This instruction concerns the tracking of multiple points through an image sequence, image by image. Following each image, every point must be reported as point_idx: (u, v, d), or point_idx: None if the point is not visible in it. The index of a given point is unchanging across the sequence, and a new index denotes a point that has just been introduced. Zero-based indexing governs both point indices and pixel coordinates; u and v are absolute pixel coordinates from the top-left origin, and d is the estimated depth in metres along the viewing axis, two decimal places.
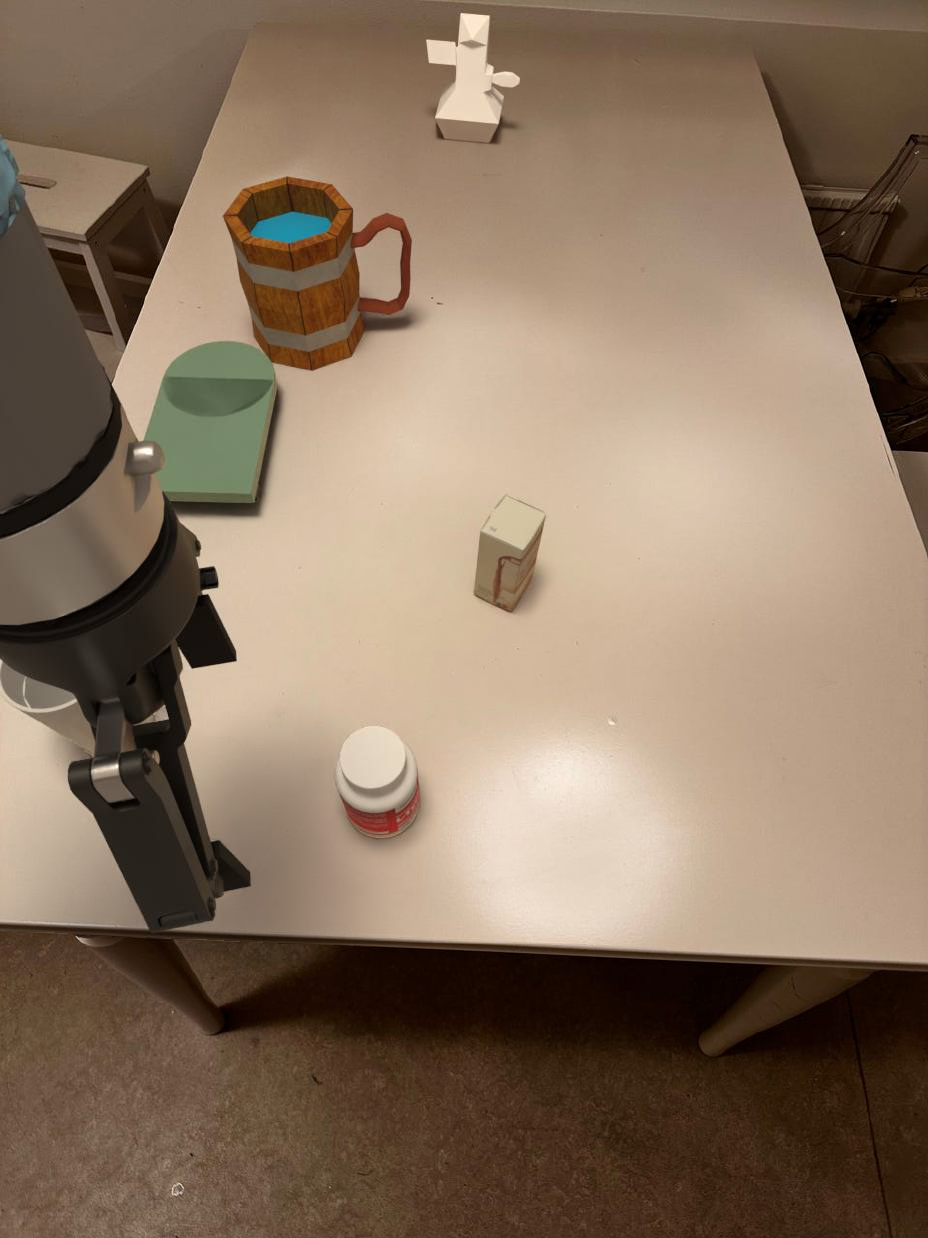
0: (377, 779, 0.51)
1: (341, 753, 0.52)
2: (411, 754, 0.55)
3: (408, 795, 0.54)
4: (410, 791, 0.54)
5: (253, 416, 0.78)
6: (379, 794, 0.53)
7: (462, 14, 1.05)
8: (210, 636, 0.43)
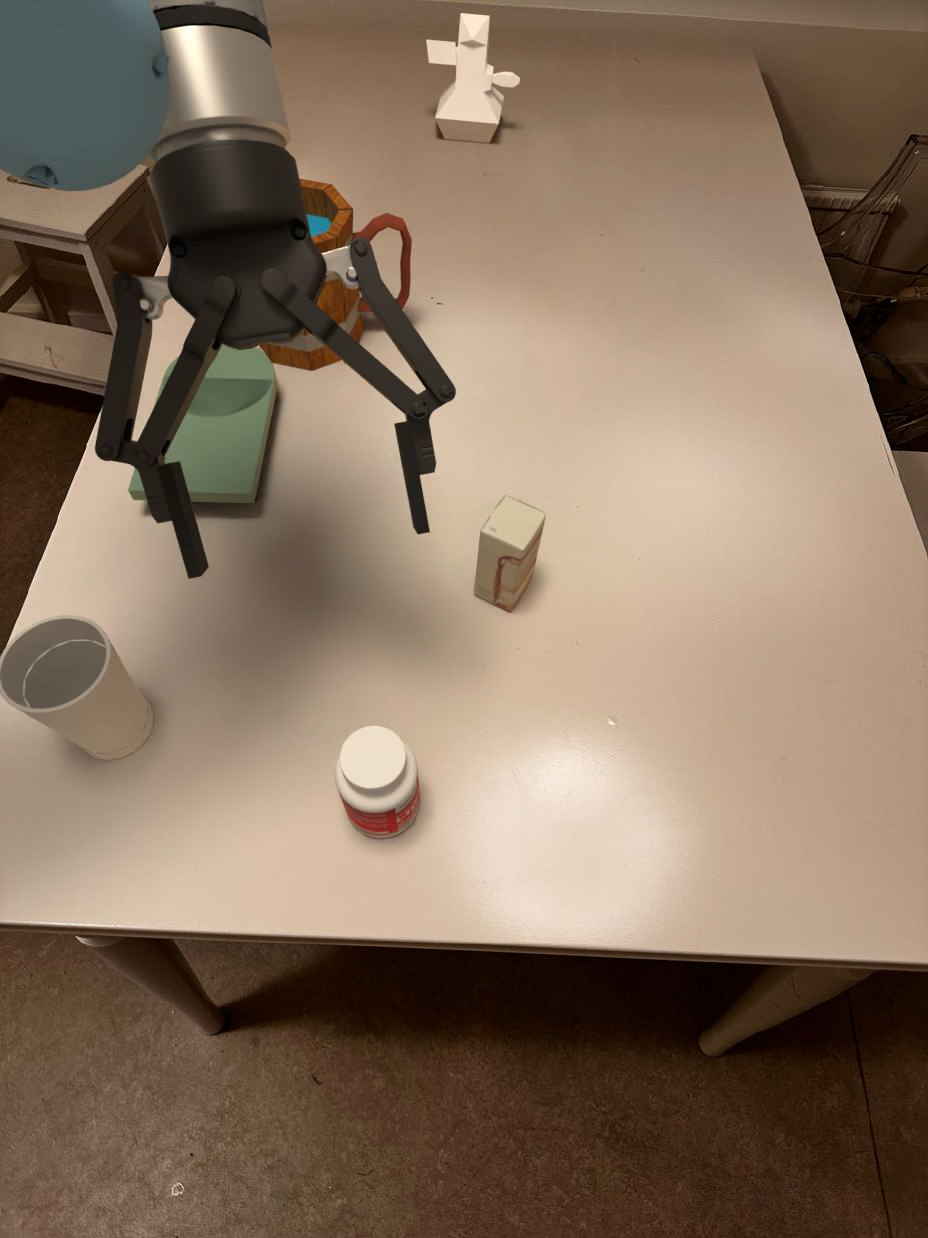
0: (377, 779, 0.51)
1: (341, 753, 0.52)
2: (411, 754, 0.55)
3: (408, 795, 0.54)
4: (410, 790, 0.54)
5: (253, 416, 0.78)
6: (379, 794, 0.53)
7: (462, 14, 1.05)
8: (192, 515, 0.44)
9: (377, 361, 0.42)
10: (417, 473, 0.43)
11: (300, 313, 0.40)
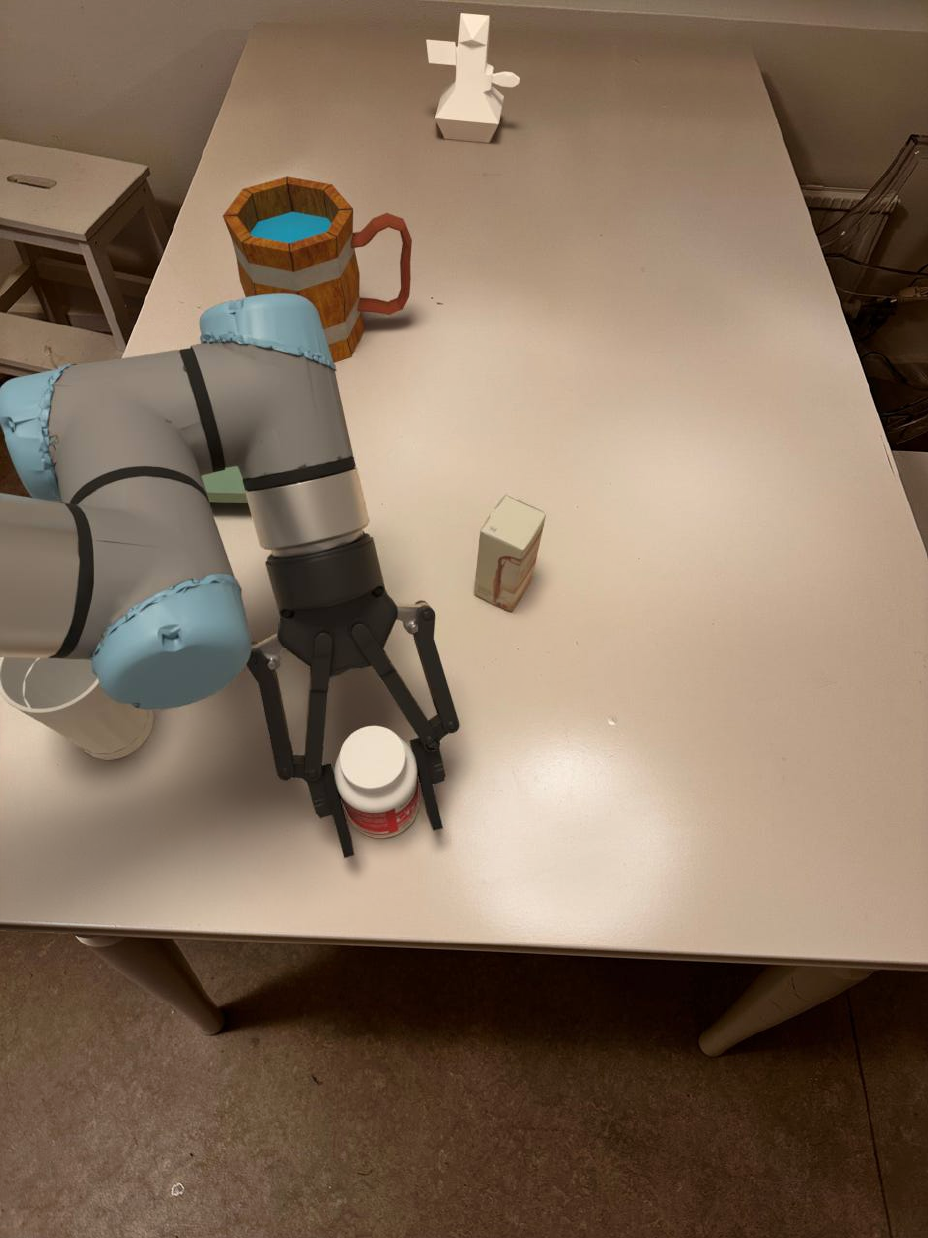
0: (377, 779, 0.51)
1: (341, 753, 0.52)
2: (411, 754, 0.55)
3: (408, 795, 0.54)
4: (410, 791, 0.54)
5: None
6: (379, 794, 0.53)
7: (462, 14, 1.05)
8: (341, 803, 0.56)
9: (413, 701, 0.53)
10: (431, 787, 0.55)
11: (371, 657, 0.51)
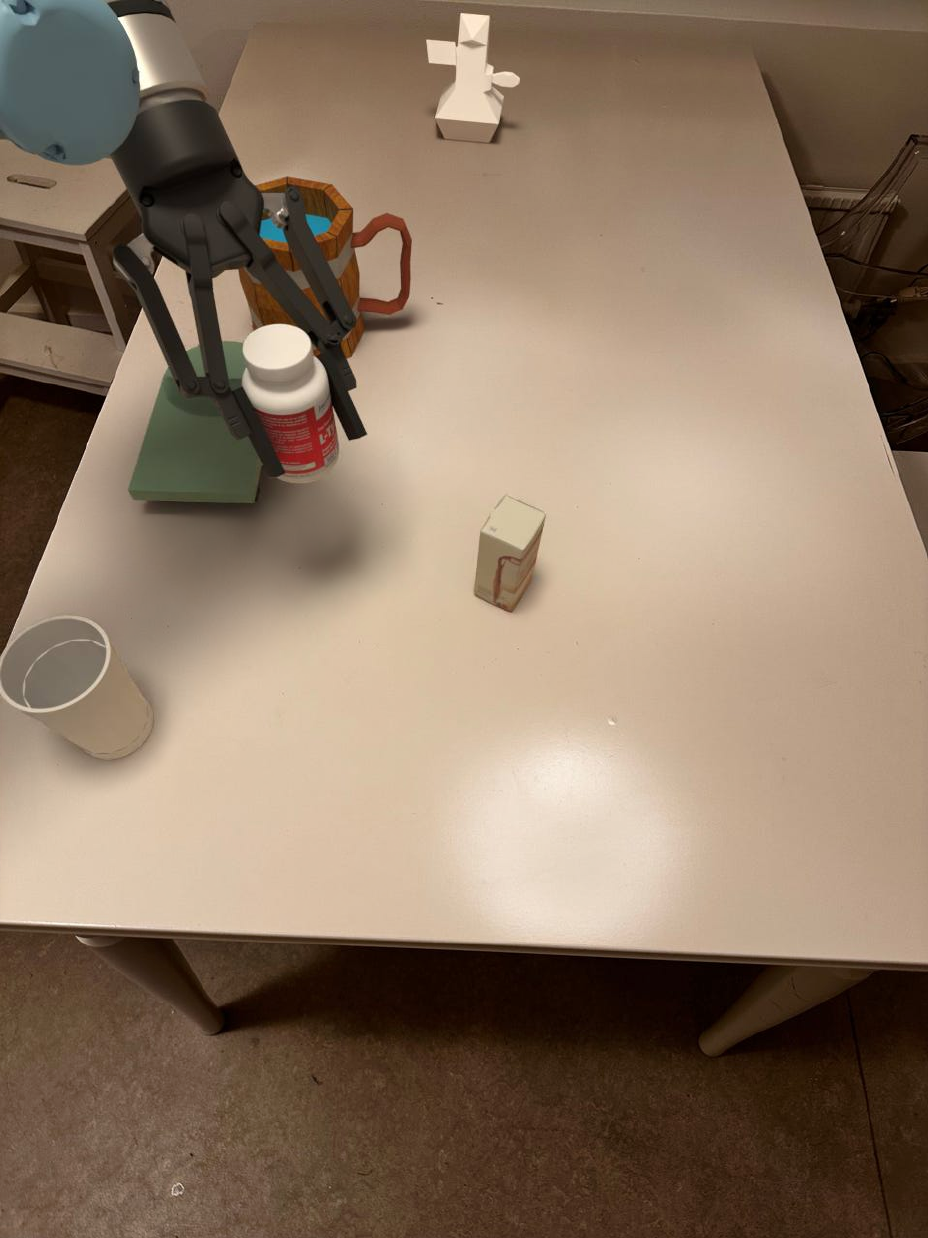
0: (287, 360, 0.50)
1: (243, 349, 0.50)
2: None
3: (324, 392, 0.53)
4: (324, 386, 0.53)
5: None
6: (294, 387, 0.51)
7: (462, 14, 1.05)
8: None
9: (303, 294, 0.52)
10: (345, 389, 0.55)
11: (248, 241, 0.50)
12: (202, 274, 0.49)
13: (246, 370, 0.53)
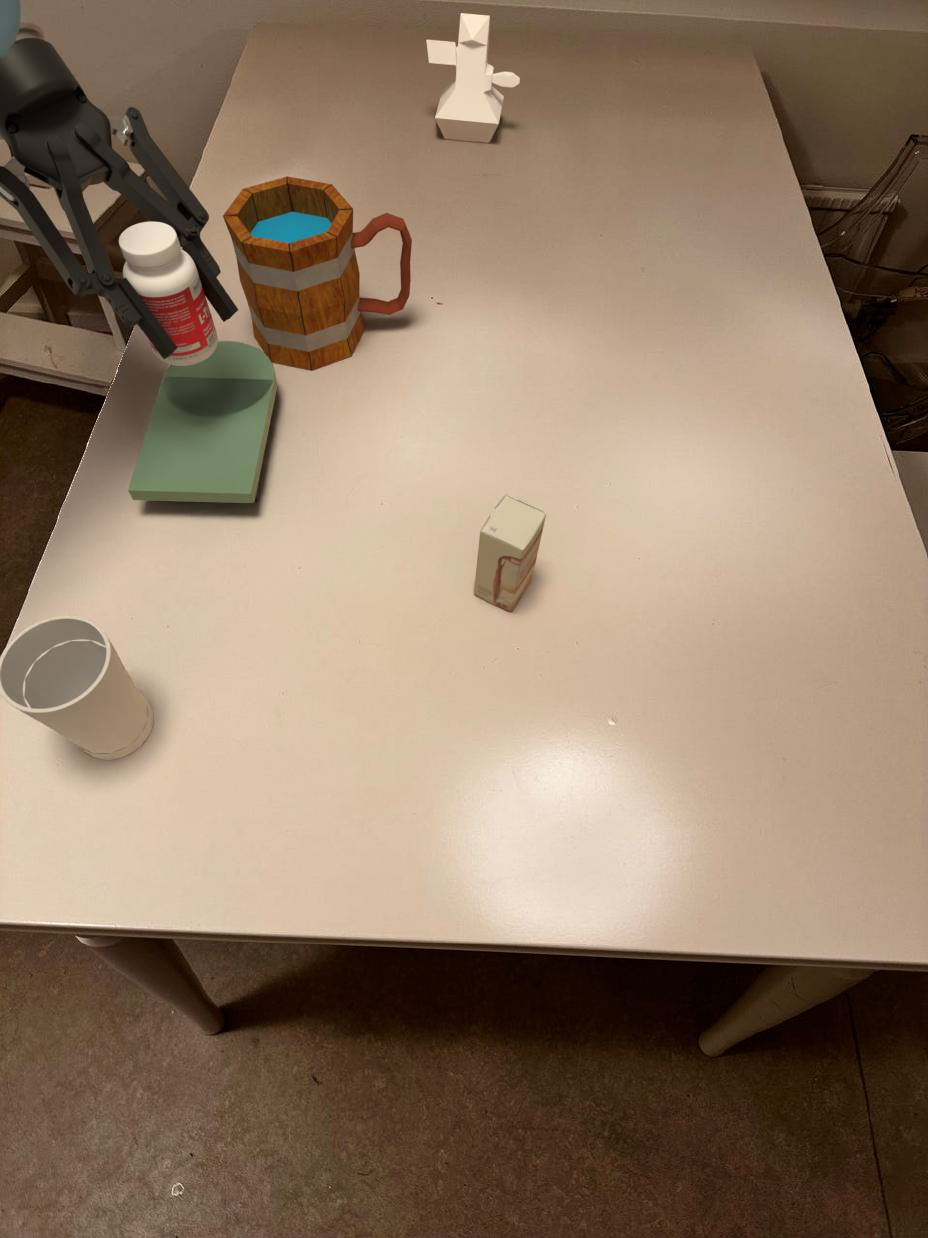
0: (159, 245, 0.61)
1: (120, 243, 0.61)
2: None
3: (195, 275, 0.64)
4: (194, 269, 0.64)
5: (253, 416, 0.78)
6: (169, 271, 0.62)
7: (462, 14, 1.05)
8: None
9: (160, 196, 0.63)
10: (212, 273, 0.66)
11: (104, 154, 0.60)
12: (72, 185, 0.59)
13: (125, 266, 0.63)
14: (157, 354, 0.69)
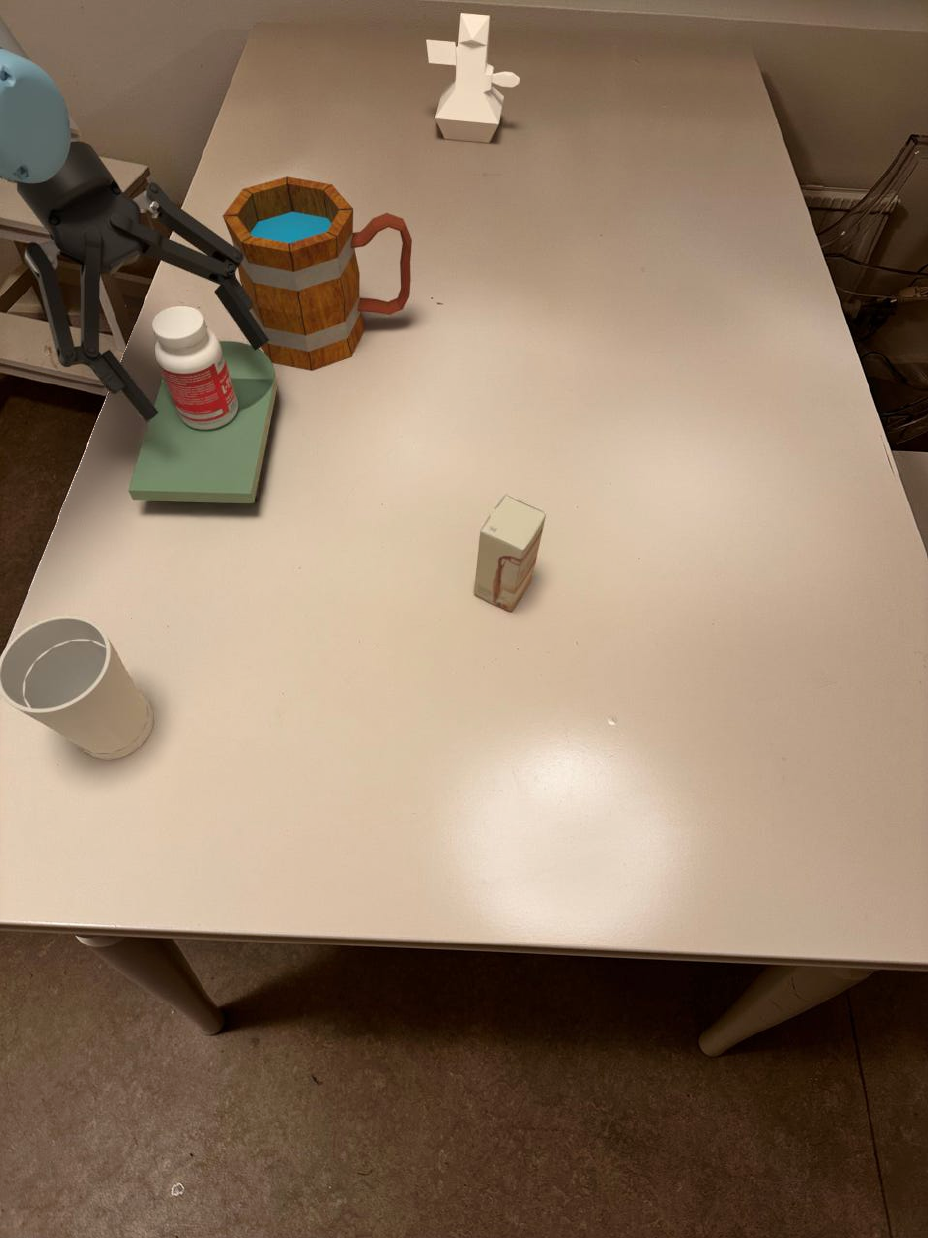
0: (189, 330, 0.68)
1: (154, 328, 0.68)
2: None
3: (219, 352, 0.71)
4: (218, 347, 0.71)
5: (253, 416, 0.78)
6: (197, 350, 0.69)
7: (462, 14, 1.05)
8: None
9: (193, 250, 0.70)
10: (246, 307, 0.73)
11: (141, 234, 0.67)
12: (93, 268, 0.65)
13: (157, 345, 0.70)
14: (183, 419, 0.76)
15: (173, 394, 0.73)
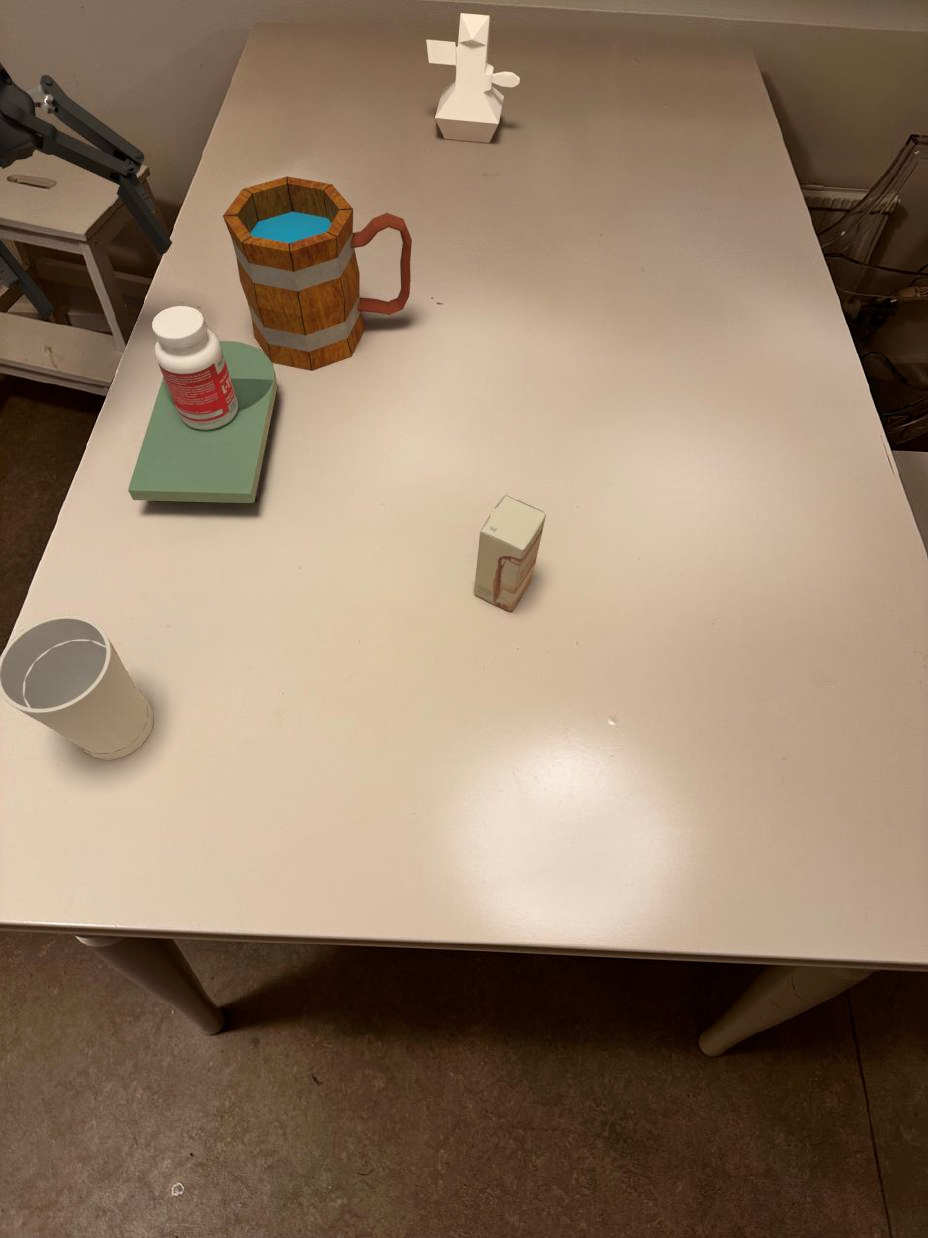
0: (188, 330, 0.68)
1: (153, 328, 0.68)
2: None
3: (219, 352, 0.71)
4: (218, 347, 0.71)
5: (253, 416, 0.78)
6: (197, 350, 0.69)
7: (462, 14, 1.05)
8: None
9: (90, 146, 0.70)
10: (147, 208, 0.73)
11: (33, 125, 0.67)
12: None
13: (157, 345, 0.70)
14: (183, 419, 0.76)
15: (173, 394, 0.73)
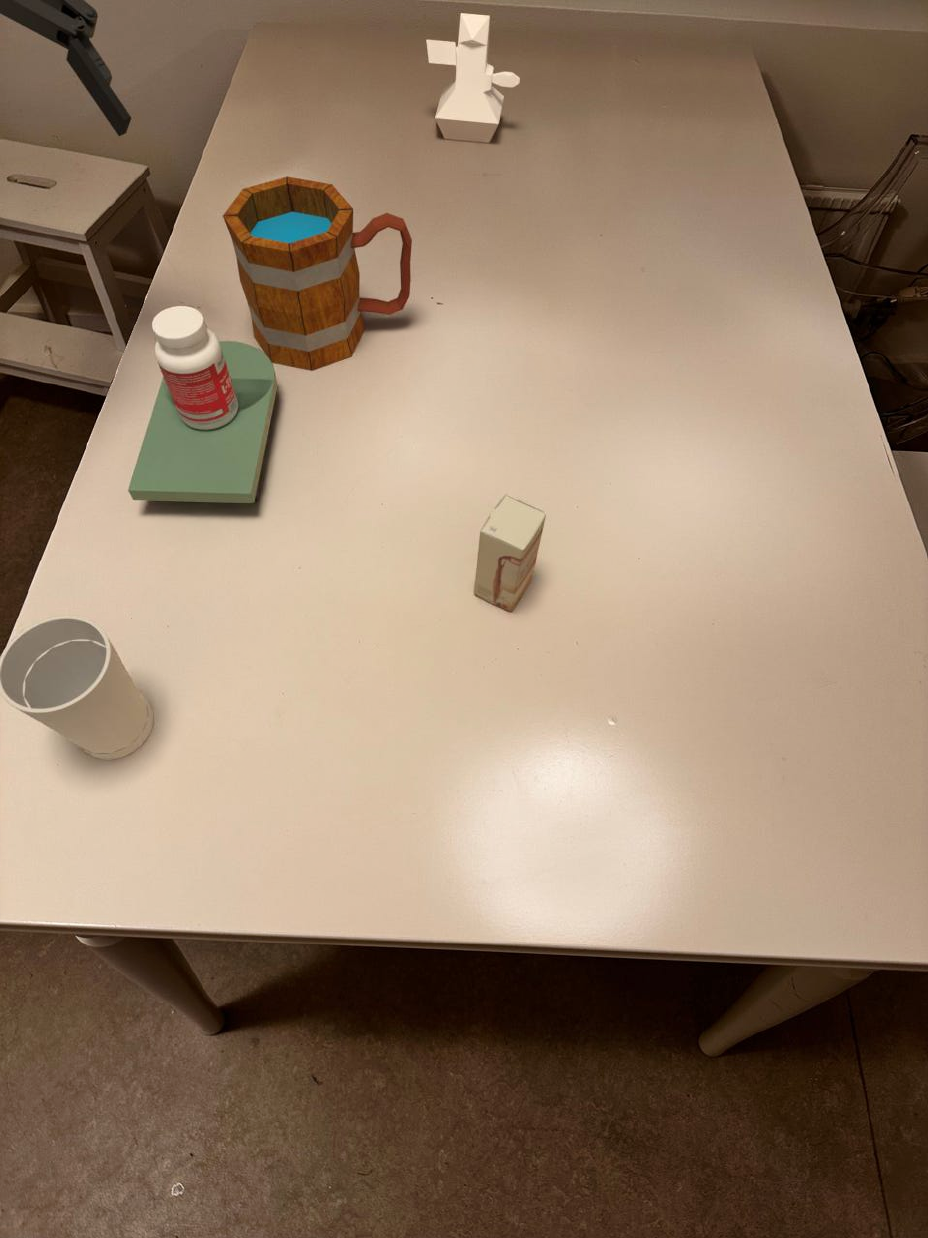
0: (188, 330, 0.68)
1: (153, 328, 0.68)
2: None
3: (219, 352, 0.71)
4: (218, 347, 0.71)
5: (253, 416, 0.78)
6: (197, 350, 0.69)
7: (462, 14, 1.05)
8: None
9: None
10: (101, 75, 0.63)
11: None
12: None
13: (157, 345, 0.70)
14: (183, 419, 0.76)
15: (173, 394, 0.73)
